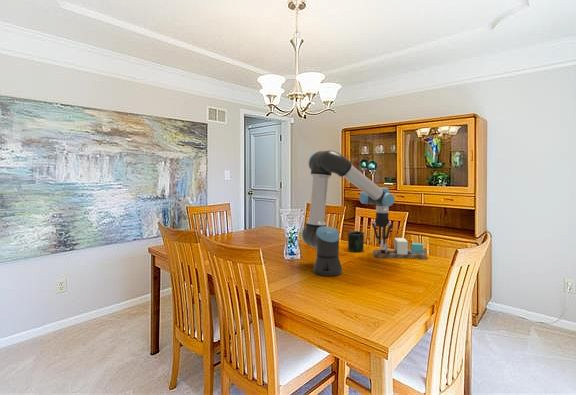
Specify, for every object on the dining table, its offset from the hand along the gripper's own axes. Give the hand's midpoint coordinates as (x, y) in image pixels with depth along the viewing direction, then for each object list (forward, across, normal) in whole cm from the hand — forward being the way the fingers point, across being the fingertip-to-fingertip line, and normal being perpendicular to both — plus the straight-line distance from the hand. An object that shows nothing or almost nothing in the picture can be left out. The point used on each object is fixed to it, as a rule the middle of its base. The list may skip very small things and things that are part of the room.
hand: (381, 249), depth 203 cm
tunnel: (+2, +12, 0) cm, 12 cm away
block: (+1, +21, 0) cm, 21 cm away
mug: (+4, -14, +13) cm, 20 cm away
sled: (+1, +14, 0) cm, 14 cm away
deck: (+4, +11, 0) cm, 11 cm away
